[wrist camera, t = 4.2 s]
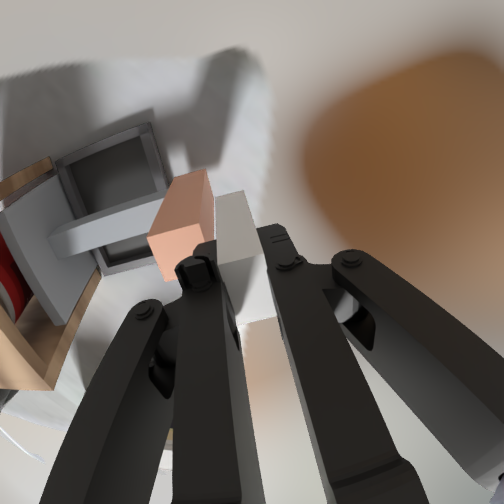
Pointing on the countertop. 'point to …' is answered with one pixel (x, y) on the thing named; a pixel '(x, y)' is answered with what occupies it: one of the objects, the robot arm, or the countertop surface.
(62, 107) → the countertop surface
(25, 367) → the tunnel
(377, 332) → the robot arm
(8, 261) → the canned food
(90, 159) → the tray
